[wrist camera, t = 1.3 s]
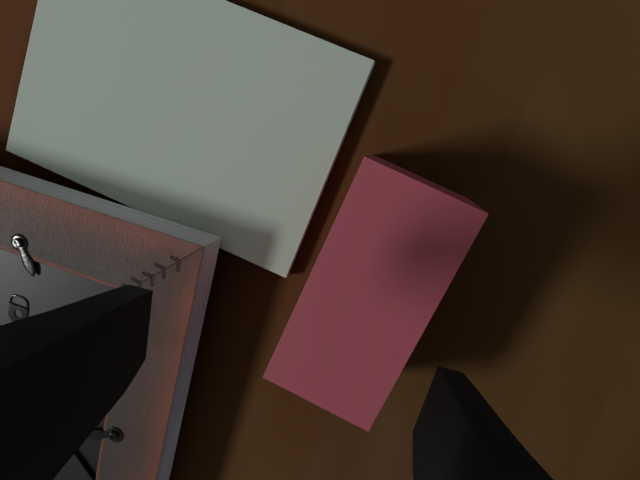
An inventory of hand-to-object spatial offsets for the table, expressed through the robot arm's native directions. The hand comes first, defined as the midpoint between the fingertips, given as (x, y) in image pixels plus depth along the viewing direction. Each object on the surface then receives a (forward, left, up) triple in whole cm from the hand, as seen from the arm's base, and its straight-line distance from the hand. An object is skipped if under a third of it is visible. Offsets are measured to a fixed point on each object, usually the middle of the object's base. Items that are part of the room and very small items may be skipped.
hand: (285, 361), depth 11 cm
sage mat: (+10, -4, -10) cm, 14 cm away
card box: (-1, -1, -10) cm, 10 cm away
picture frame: (+12, +12, -10) cm, 20 cm away
